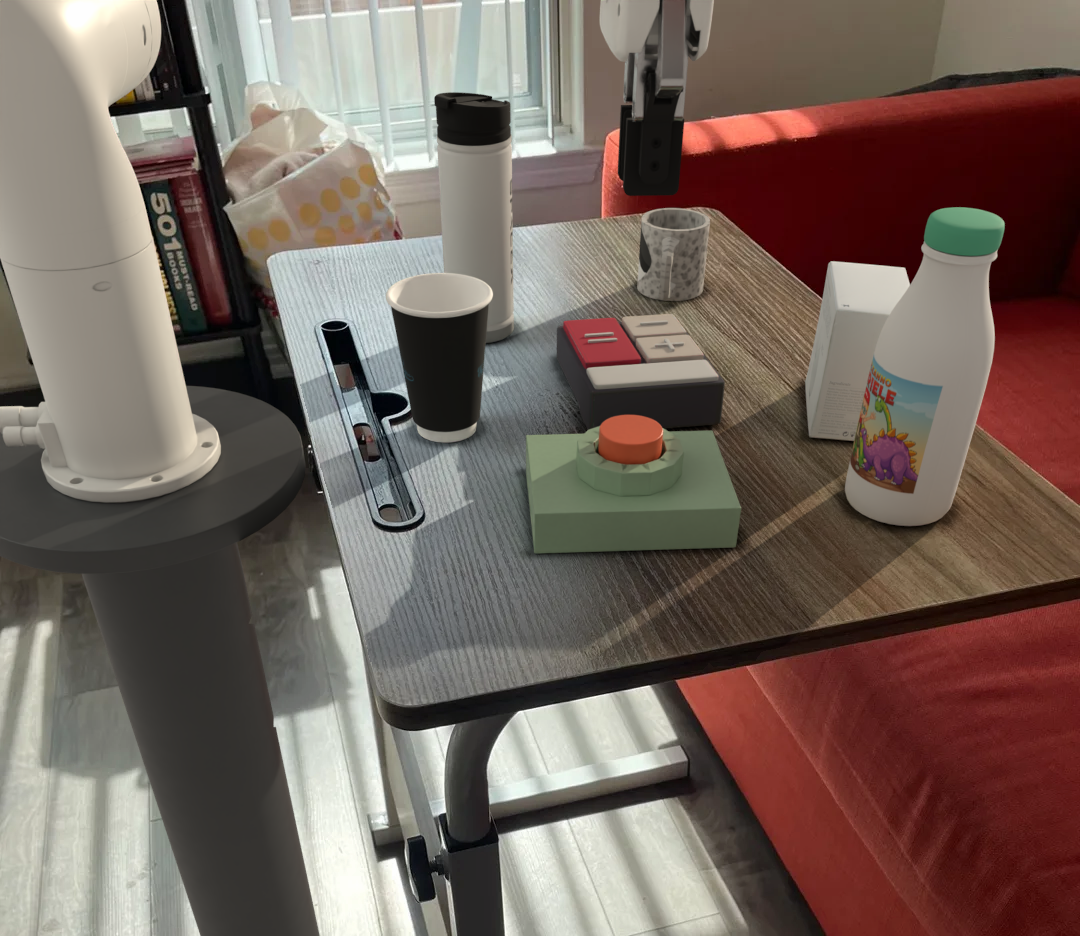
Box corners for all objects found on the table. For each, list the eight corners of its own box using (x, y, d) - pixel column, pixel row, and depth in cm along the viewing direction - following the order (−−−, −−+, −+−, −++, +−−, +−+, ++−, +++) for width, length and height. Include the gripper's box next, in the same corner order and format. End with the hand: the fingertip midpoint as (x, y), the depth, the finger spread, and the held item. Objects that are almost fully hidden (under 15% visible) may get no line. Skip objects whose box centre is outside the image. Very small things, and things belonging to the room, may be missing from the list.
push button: (601, 468, 76) (602, 445, 75) (595, 437, 79) (596, 414, 78) (665, 466, 76) (667, 443, 75) (656, 436, 79) (658, 413, 78)
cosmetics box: (890, 446, 88) (922, 315, 81) (808, 439, 88) (832, 309, 81) (880, 387, 95) (908, 263, 88) (804, 382, 96) (825, 258, 89)
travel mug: (430, 330, 104) (415, 90, 90) (484, 311, 107) (477, 78, 94) (473, 351, 100) (464, 105, 87) (527, 331, 104) (526, 91, 90)
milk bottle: (920, 470, 85) (993, 193, 72) (970, 523, 79) (1058, 233, 66) (826, 480, 84) (882, 201, 70) (870, 535, 78) (939, 242, 65)
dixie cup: (378, 426, 90) (364, 289, 82) (454, 396, 94) (448, 264, 86) (438, 462, 85) (429, 322, 78) (516, 430, 89) (514, 294, 82)
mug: (641, 273, 115) (646, 205, 110) (706, 278, 114) (713, 210, 109) (627, 310, 107) (631, 240, 103) (696, 316, 106) (703, 245, 102)
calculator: (677, 308, 99) (727, 373, 87) (673, 356, 101) (722, 424, 90) (555, 316, 97) (590, 383, 86) (555, 364, 100) (589, 435, 88)
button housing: (534, 553, 76) (534, 489, 73) (525, 473, 84) (525, 412, 81) (735, 547, 77) (745, 484, 73) (708, 468, 85) (715, 407, 82)
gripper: (581, -226, 59) (572, 149, 71) (614, -213, 47) (597, 234, 60) (720, -226, 59) (688, 147, 72) (788, -212, 48) (735, 231, 60)
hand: (647, 184), depth 66 cm, fingers closed
